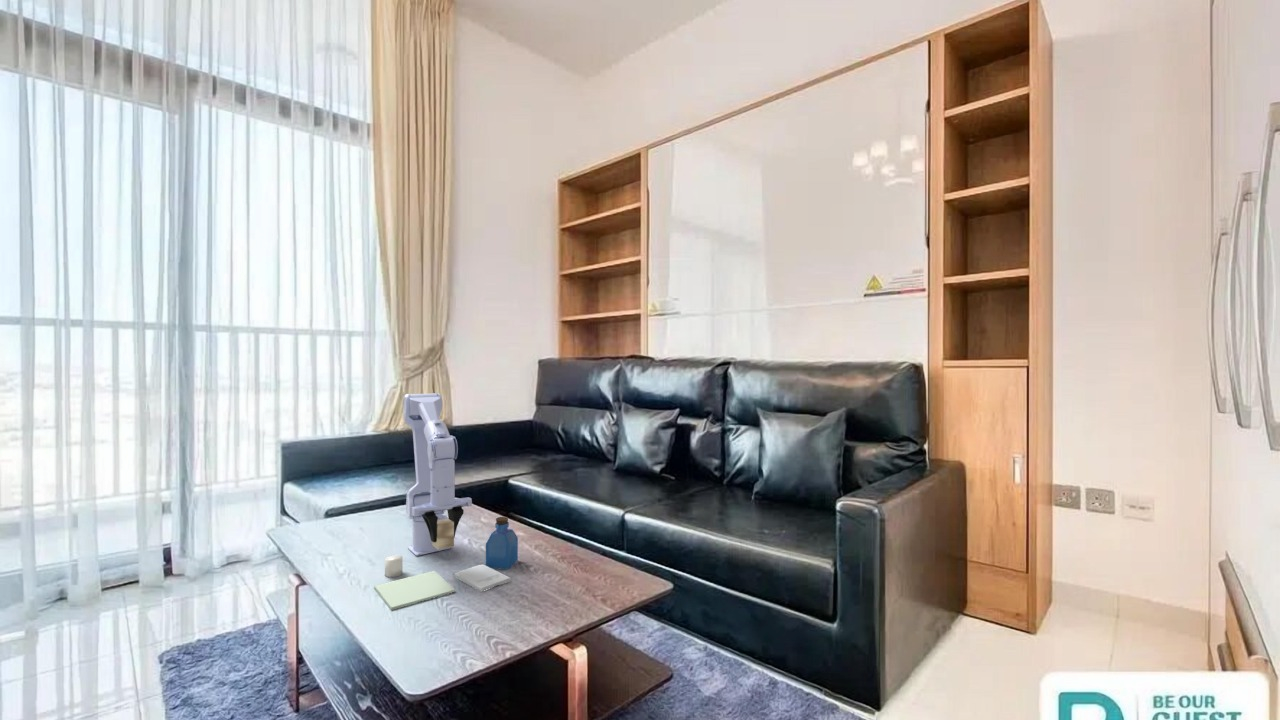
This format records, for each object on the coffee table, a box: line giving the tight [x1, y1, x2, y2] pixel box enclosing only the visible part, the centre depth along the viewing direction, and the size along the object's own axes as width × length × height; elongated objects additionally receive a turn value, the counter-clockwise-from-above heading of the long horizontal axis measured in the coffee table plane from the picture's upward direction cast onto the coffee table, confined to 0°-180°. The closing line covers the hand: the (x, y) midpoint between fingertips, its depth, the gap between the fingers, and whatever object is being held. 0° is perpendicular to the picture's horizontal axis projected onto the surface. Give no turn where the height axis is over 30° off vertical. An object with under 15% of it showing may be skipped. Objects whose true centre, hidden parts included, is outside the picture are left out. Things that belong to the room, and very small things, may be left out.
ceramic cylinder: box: [384, 554, 404, 578], centre depth 137 cm, size 4×4×4 cm
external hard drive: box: [453, 563, 512, 593], centre depth 135 cm, size 2×8×12 cm
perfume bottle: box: [485, 516, 519, 570], centre depth 144 cm, size 6×6×12 cm
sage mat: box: [373, 570, 456, 611], centre depth 128 cm, size 14×14×1 cm
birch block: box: [432, 519, 455, 550], centre depth 138 cm, size 4×4×6 cm
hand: (442, 539), depth 138 cm, fingers closed on birch block, 4 cm apart
